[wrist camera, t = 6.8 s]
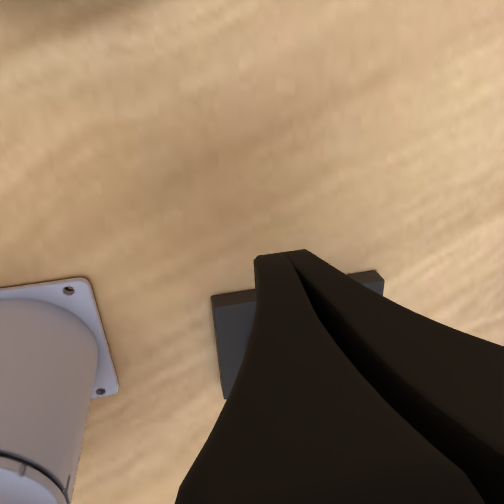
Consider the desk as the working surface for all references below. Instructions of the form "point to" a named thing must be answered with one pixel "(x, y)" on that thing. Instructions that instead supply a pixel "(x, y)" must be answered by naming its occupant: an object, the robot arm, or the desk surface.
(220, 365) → the control block
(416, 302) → the desk surface
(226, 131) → the desk surface
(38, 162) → the desk surface
